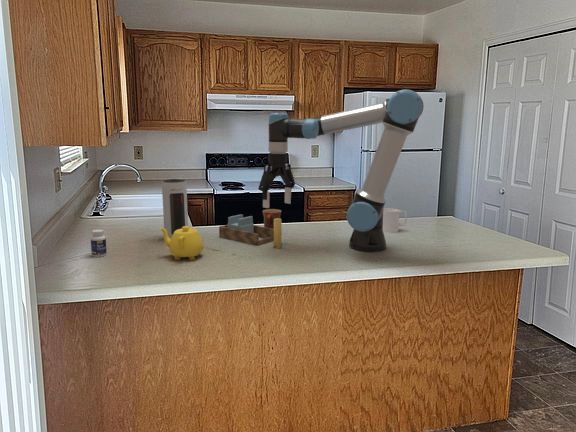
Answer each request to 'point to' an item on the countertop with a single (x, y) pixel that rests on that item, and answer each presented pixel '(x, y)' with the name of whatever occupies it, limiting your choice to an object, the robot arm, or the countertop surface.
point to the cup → (392, 220)
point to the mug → (270, 217)
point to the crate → (241, 223)
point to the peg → (277, 232)
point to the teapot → (184, 242)
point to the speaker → (174, 205)
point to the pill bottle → (98, 243)
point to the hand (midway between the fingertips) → (277, 205)
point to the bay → (248, 235)
